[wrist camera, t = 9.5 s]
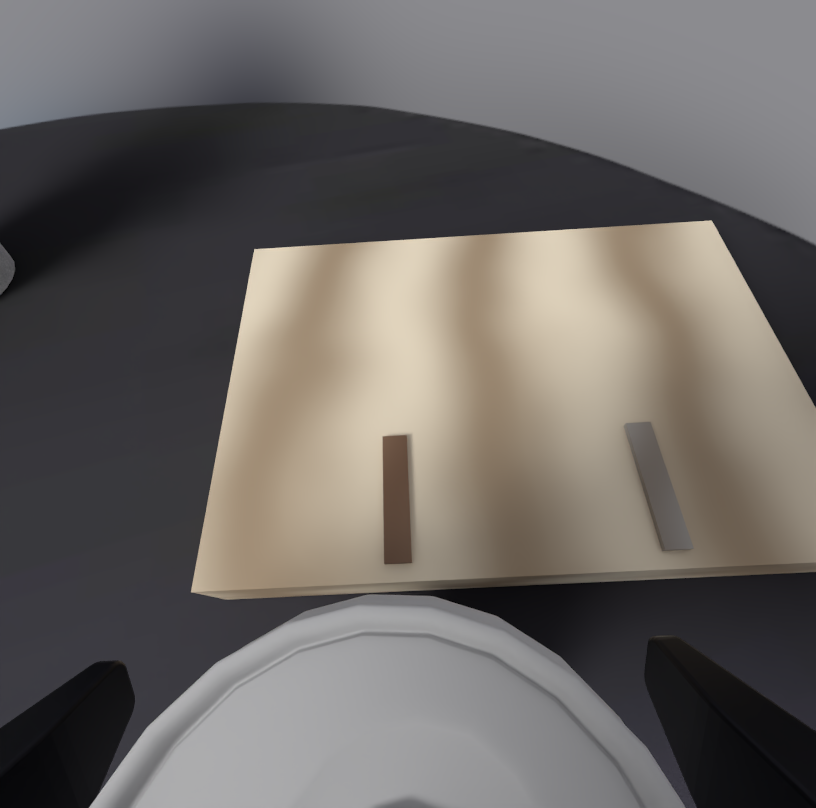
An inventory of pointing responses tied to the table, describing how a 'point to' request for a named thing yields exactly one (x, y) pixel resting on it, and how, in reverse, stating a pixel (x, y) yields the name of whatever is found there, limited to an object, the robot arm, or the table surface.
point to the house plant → (5, 269)
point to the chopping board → (506, 418)
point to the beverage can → (389, 722)
